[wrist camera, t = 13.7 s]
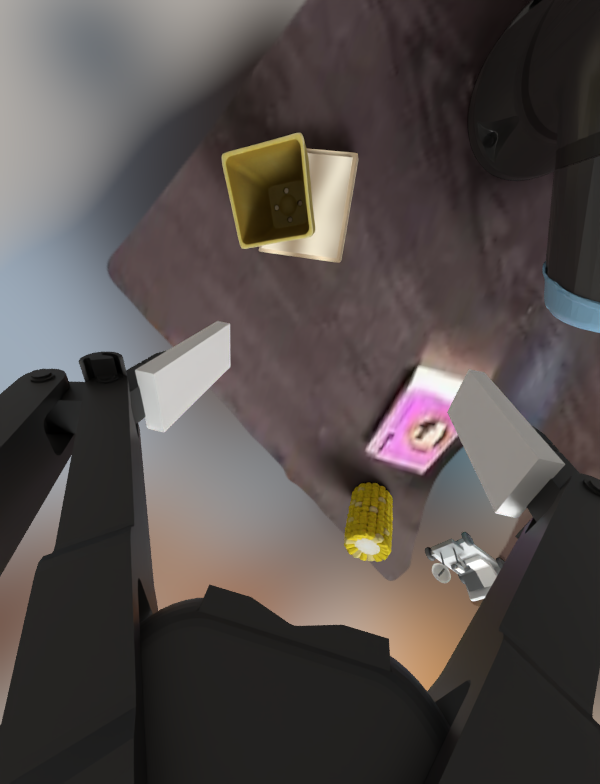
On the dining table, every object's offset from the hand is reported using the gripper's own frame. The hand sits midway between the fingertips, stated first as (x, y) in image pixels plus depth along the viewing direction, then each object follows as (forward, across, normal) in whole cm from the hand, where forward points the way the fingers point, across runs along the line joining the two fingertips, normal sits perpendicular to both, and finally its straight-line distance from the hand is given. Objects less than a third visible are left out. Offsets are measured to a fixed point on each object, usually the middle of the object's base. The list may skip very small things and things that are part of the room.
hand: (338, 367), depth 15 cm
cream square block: (+33, -9, +9) cm, 35 cm away
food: (+33, +14, -46) cm, 58 cm away
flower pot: (+29, -11, +9) cm, 32 cm away
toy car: (+33, +40, -59) cm, 79 cm away
